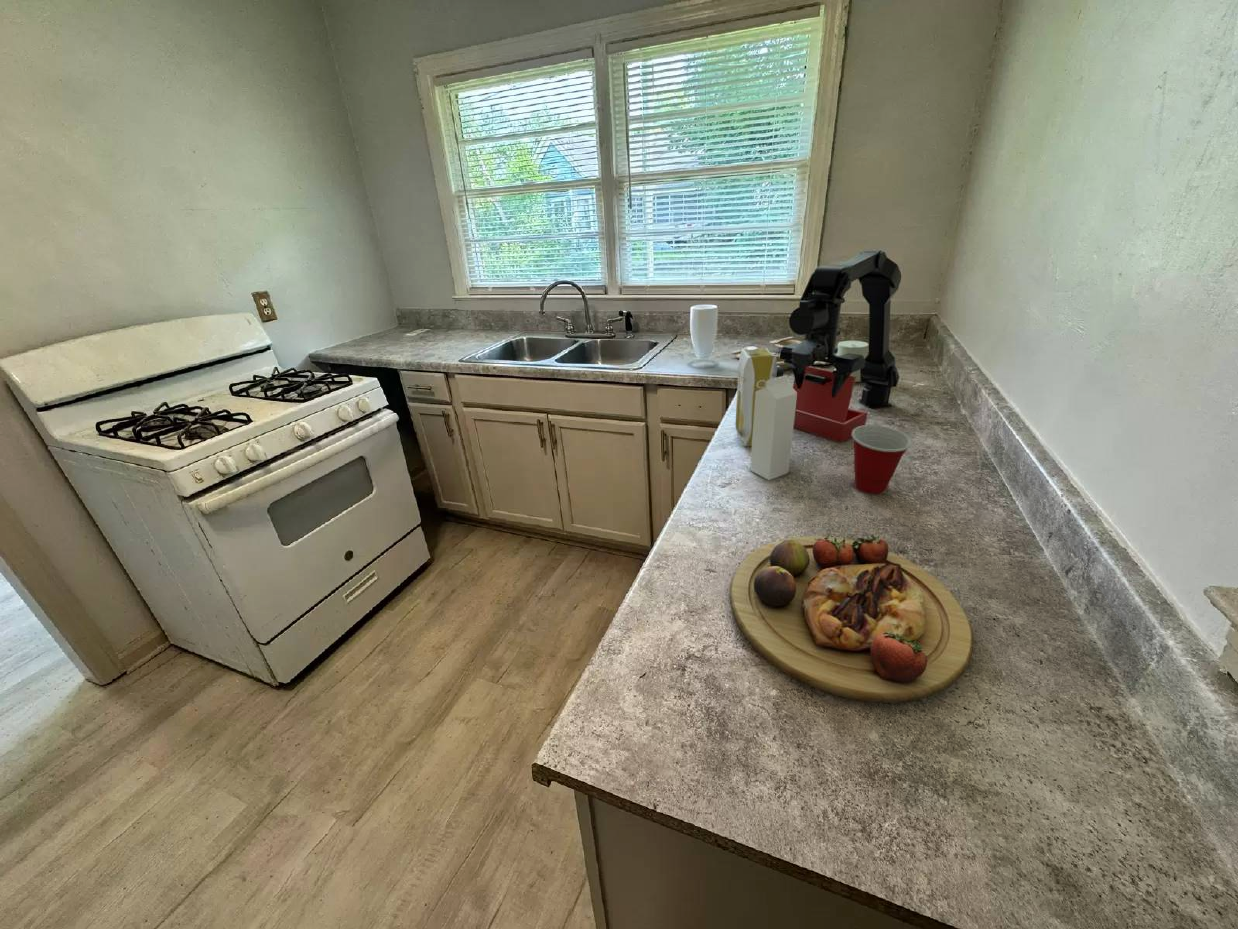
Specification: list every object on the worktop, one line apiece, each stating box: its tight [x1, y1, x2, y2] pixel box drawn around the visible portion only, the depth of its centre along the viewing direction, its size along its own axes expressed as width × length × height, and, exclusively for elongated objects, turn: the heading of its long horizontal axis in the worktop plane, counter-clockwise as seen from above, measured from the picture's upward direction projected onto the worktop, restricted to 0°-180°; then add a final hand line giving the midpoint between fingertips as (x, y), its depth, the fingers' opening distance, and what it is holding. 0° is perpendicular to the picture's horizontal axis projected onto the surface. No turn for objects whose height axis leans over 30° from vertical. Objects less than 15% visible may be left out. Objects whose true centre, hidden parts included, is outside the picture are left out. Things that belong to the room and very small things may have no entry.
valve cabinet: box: [793, 407, 868, 443], centre depth 130 cm, size 11×16×5 cm
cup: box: [689, 304, 719, 359], centre depth 186 cm, size 10×10×22 cm
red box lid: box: [792, 366, 856, 423], centre depth 122 cm, size 11×16×5 cm
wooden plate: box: [729, 533, 974, 704], centre depth 71 cm, size 32×32×8 cm
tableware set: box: [731, 336, 832, 370], centre depth 189 cm, size 35×29×4 cm
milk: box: [749, 374, 797, 481], centre depth 106 cm, size 6×6×22 cm
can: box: [834, 340, 869, 383], centre depth 163 cm, size 9×9×12 cm
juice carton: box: [735, 346, 777, 447], centre depth 121 cm, size 9×8×24 cm
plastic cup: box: [851, 424, 913, 495], centre depth 100 cm, size 11×11×12 cm
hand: (815, 392), depth 118 cm, fingers open, 9 cm apart
